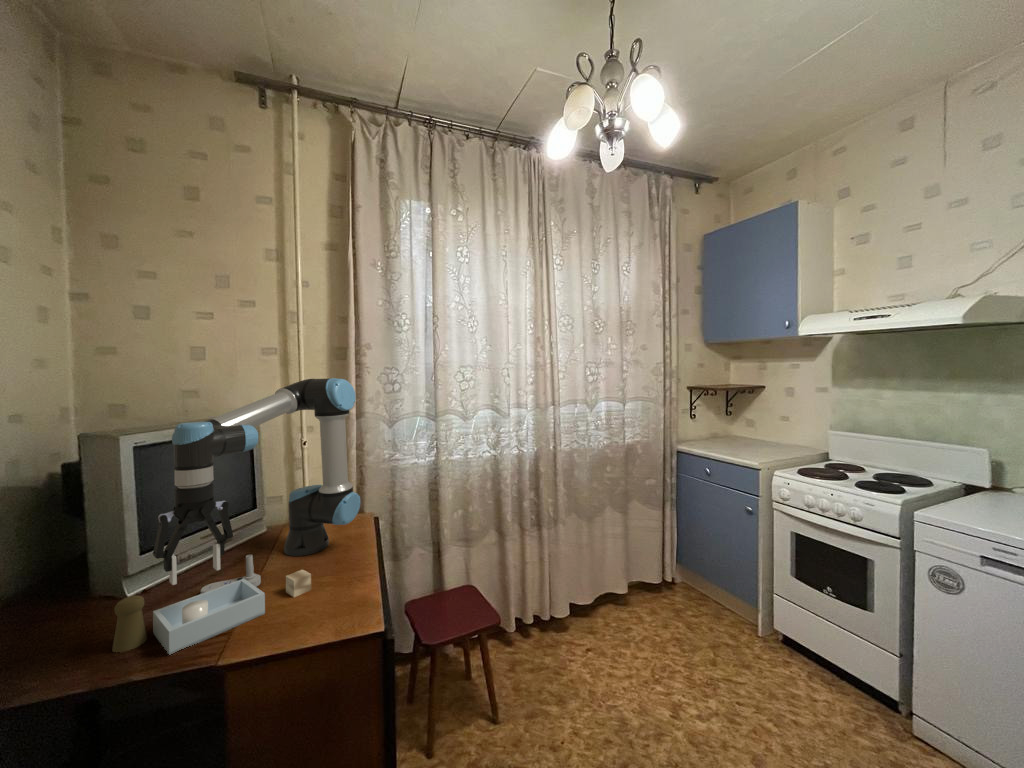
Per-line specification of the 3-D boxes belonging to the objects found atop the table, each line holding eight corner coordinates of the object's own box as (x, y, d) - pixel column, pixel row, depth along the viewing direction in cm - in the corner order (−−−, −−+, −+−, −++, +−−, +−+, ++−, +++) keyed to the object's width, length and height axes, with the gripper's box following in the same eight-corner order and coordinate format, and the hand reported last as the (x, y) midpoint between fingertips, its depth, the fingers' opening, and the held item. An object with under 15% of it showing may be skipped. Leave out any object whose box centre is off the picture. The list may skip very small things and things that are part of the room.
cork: (127, 636, 96) (127, 592, 96) (154, 635, 97) (153, 591, 97) (104, 653, 90) (104, 606, 90) (132, 651, 91) (132, 605, 91)
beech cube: (302, 585, 121) (302, 569, 120) (311, 590, 118) (310, 573, 118) (285, 592, 116) (285, 575, 116) (294, 597, 114) (293, 580, 114)
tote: (244, 597, 114) (244, 578, 114) (264, 613, 105) (264, 593, 105) (153, 633, 97) (153, 611, 97) (169, 656, 89) (169, 631, 89)
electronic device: (202, 561, 117) (260, 550, 123) (203, 593, 117) (262, 580, 124) (196, 569, 112) (257, 557, 119) (198, 602, 112) (259, 588, 119)
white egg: (204, 624, 100) (204, 597, 100) (211, 632, 97) (211, 604, 97) (179, 635, 96) (179, 607, 96) (185, 643, 93) (185, 613, 93)
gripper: (237, 474, 107) (238, 556, 107) (133, 491, 90) (134, 589, 90) (248, 477, 103) (249, 563, 103) (141, 497, 86) (142, 599, 86)
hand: (195, 575), depth 97 cm, fingers open, 8 cm apart
